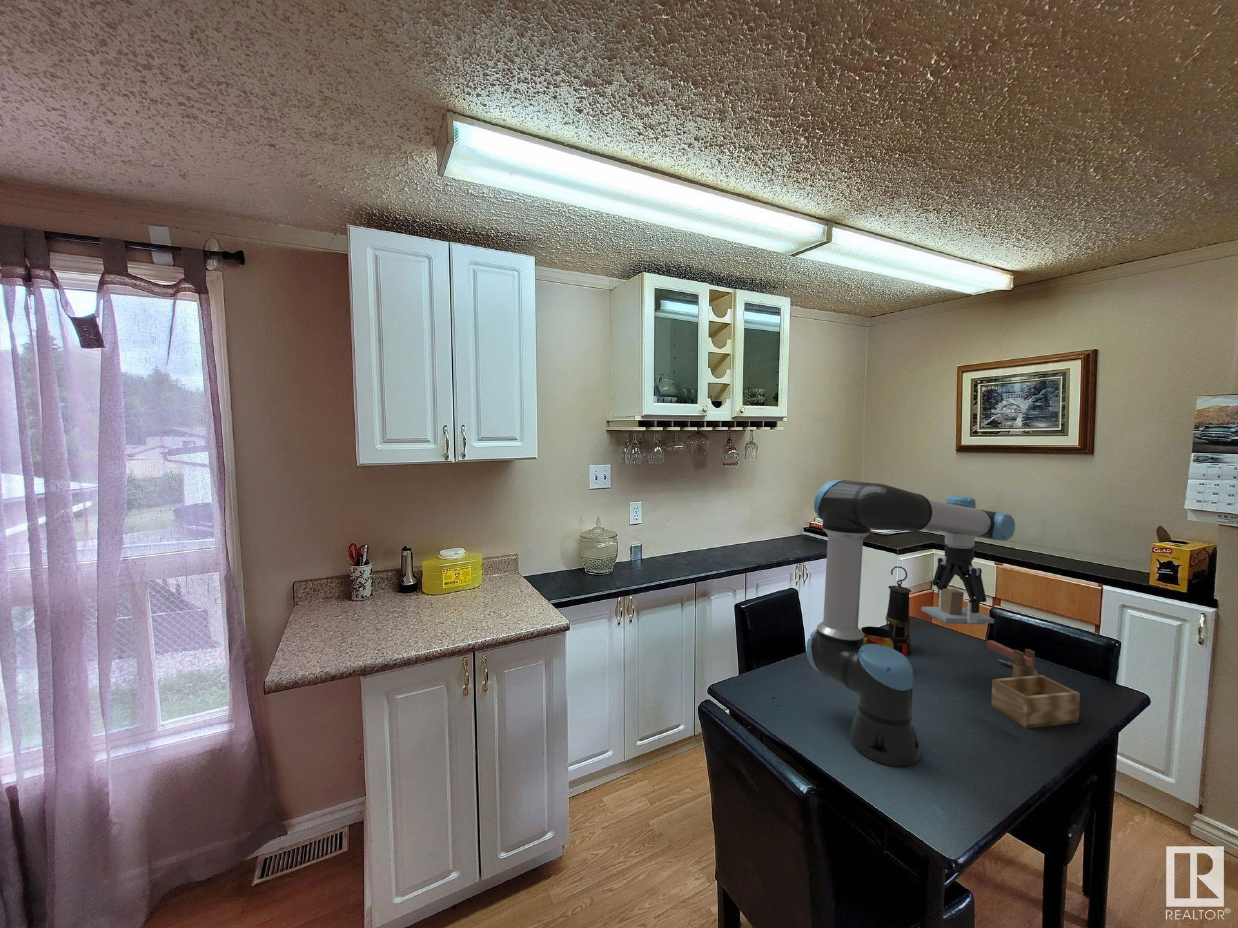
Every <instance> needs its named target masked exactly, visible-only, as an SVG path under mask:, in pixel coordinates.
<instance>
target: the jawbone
mask: <svg viewBox="0 0 1238 928" xmlns="http://www.w3.org/2000/svg"><path fill="white" fill-rule="evenodd" d="M997 660H998V661H1000V662H1001V663H1004V664H1006V665H1008V667H1011V668H1013V662H1011V661H1005V660H1004V659H1003V660H1002V659H997ZM1035 675H1040V674H1039V672H1038V671H1037V669H1035V668H1034V676H1035Z"/></svg>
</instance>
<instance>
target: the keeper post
mask: <svg viewBox="0 0 1238 928" xmlns="http://www.w3.org/2000/svg"><path fill="white" fill-rule="evenodd" d="M1012 650H1013V660H1012V664H1013V667H1012V677H1024V676H1034V669H1035V662H1036V660H1035V659H1036V658H1035V657H1036V651H1034V650H1031V649H1030V648H1024V652H1023V651H1020V650H1018V649H1012ZM1024 655H1025V656H1027V657H1029V658H1032V659H1033V666H1025V665H1023V657H1024ZM1012 677H1011V678H1012Z"/></svg>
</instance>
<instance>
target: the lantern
mask: <svg viewBox="0 0 1238 928" xmlns="http://www.w3.org/2000/svg"><path fill="white" fill-rule="evenodd" d="M895 569H902V570H903V571H904V574H905V576H904V578H903V579H898V580H897V581H896V585H888V587H887V588H888V589H889V596H888V604H887V605H888V606H887V612H886V615H885V621H886V626H885V629H886V630H889V631H891V632H892V633H893V635H894V638H907V656H909V655H910V654H912V649H911V642H912V639H911V638H910V625H911V620H910V594H911V593H912V590H911V589H910V588H908V587H905V586H902V585H903V582H904V581H905V580H906V579H907V578H908V571H907V570H906V569H905V567H903V566H898V565H897V566H894V567H893V568H892V569H891V571H890V575H892V576H893V573H894V572H893V571H894V570H895ZM899 582H900V583H899ZM893 649H894V650H896V651H898V652H900V653H901V654H902V649H903V644H893Z"/></svg>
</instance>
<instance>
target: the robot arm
mask: <svg viewBox="0 0 1238 928" xmlns="http://www.w3.org/2000/svg"><path fill="white" fill-rule="evenodd" d="M945 499H946V500H945V502H944V501H937V500H933V499H928V498H927V497H926V495H925V496H924V495H923V494H920V493H916V492H914V491H913V492H912V491H909V490H905V489H902V488H899V487H894V486H892V485H887V484H883V483H875V482H874V483H873V482H864V481H857V480H856V481H854V480H849V479H848V480H847V479H837V480H836V479H833V480H829V481H826V482H825V483H823V484H822V486H821V487H819V489H818V491H817V492H816V494H815V497H814V500H813V510H814V513H816V516H817V517H818V518H819V519H820V520H822V525H821V526H822V527H821V528H822V531H824V532H825V533H826V535H827V544H826V545H827V547H826V548H827V549H826V566H825V583H824V584H825V585H824V598H823V599H824V600H823V620H822V622H820V623H818V624H817V626H816V629H815V630H813V631H812V632H811V633H810V635H809V636H810V637H808V638H807V641H806V647H805V652H806V656H807V657H806V658H807V660H808V663H809V664H810V666H811V667H813V669H814V670H816V671H817V672H819V673H820V674H821V675H822V676H824V677H825V678H827V679H830V680H832V681H834V682H835V683H837V684H839V685H841V686H843V687H845V688H846V689H847V690H848V689H849V690H850V691H852V692H854V693H855V694H857V711H856V713H855V716H854V719H853V722H852V723H851V724H850V728H849V741H850V743H851V745H852V746H853V748H854V749H856V751H858V752H859V754H861V755H862V756H864V757H867V759H870V760H872V761H875V762H876V763H879V764H883V765H886V766H892V767H909V766H913V765H915V764H916V763H918V762H919V760H920V756H921V755H920V753H921V752H920V751H921V750H920V743H919V741H918V740H919V739H918V738H917V734H916V731H915V728H914V725H913V700H914V698H913V697H914V695H913V693H914V684H915V680H914V670H913V669H914V668H913V666H912V664H911V663H912V662H911V661H910V660H909V659H908V657H907V658H906V657H905V656H904V655H903V654H901V653H900V652H898V651H896V650H894V649H892V648H889V647H886V646H884V647H883V646H881V645H878V644H866V645H864V634H863V632H862V631H861V630H860V629H861V628H859V613H860V601H861V600H860V599H861V598H860V597H861V581H862V564H863V563H862V561H863V547H864V546H863V545H864V544H863V543H864V539H865V537H867V536H869V535H870V534H871V530H878V531H903V532H904V531H905V532H906V531H908V532H919V531H922V530H926V531H929V532H943V533H944V544H945V546H944V557H938V558H937V567H936V570H935V573H934V577H933V581H932V585H933V586H934V587H936V589H937V598H938V607H941V605H942V594H943V589H949V587H948V586H949V585H950V583H951V582H952V580H953V578H954V577H955V576H957V577H959V579H960V580H961V581H962V583H963V586H964V588H965V591H966V593H967V596H968V598H969V600H968V601H967V608H968V611H967V622H968V623H977V614H978V613H980V604H981V603H986V602H987V596H986V593H985V588H984V583H983V582H984V581H983V577H982V571H983V570H982V568H980V567H975V566H973V565H972V562H973V560H974V559H975V548H974V547H975V537H977V538H983V539H989V540H993V541H1001V542H1002V541H1003V542H1005V541H1008V540H1010V539H1011V538H1013V536H1014V534H1015V530H1016V522H1015V519H1014V517H1013V516H1012V515H1011V514H1009V513H1004V512H999V511H991V510H985V509H980V508H977V506H976V499H975V498H973V497H971V496H966V495H949V496H947V497H946V498H945Z"/></svg>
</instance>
